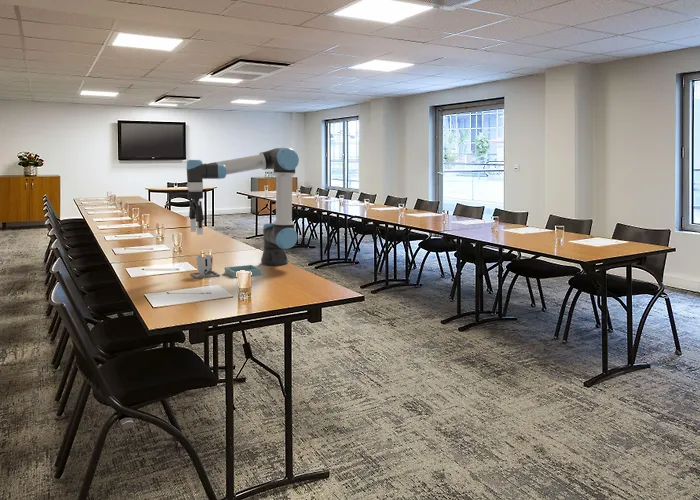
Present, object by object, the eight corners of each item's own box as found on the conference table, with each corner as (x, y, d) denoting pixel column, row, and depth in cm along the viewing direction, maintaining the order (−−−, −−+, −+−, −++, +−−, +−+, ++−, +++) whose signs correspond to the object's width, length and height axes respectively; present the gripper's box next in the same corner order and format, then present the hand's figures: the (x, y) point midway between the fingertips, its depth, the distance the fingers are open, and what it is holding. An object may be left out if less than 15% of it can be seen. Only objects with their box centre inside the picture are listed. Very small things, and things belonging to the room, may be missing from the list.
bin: (251, 270, 312) (251, 264, 312) (261, 274, 299) (261, 269, 299) (224, 273, 305) (224, 267, 305) (233, 277, 292) (233, 271, 292)
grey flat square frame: (213, 272, 307) (213, 270, 307) (220, 276, 297) (220, 274, 296) (190, 274, 301) (190, 273, 301) (196, 278, 291) (196, 277, 291)
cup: (205, 277, 293) (204, 257, 292) (193, 276, 298) (192, 256, 296) (216, 274, 300) (215, 255, 299) (205, 273, 304) (204, 254, 303)
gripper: (182, 190, 302) (183, 230, 305) (193, 192, 280) (195, 236, 283) (196, 189, 305) (198, 230, 308) (209, 191, 283) (210, 235, 286)
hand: (196, 233), depth 295 cm, fingers open, 13 cm apart
